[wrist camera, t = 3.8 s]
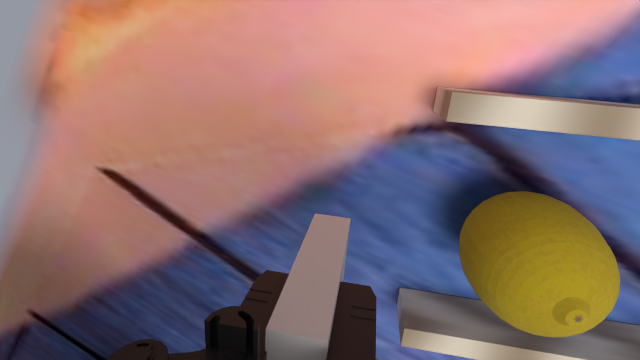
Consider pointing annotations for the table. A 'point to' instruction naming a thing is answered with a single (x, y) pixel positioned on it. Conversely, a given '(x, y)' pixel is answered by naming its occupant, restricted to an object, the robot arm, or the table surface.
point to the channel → (473, 315)
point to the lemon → (539, 264)
